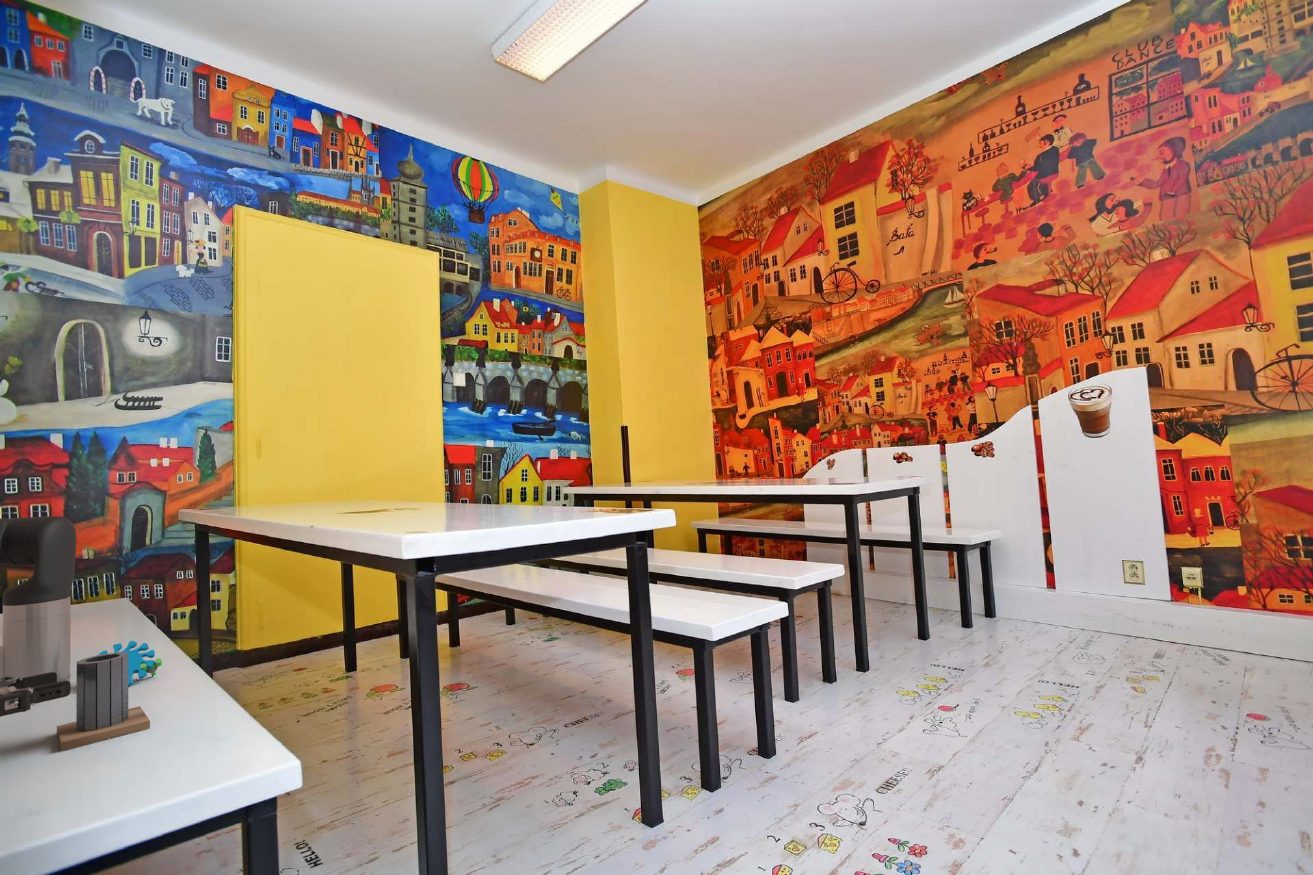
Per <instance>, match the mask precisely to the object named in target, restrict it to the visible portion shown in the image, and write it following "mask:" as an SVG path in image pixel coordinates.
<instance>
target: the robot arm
mask: <svg viewBox="0 0 1313 875" xmlns="http://www.w3.org/2000/svg"><path fill="white" fill-rule="evenodd" d="M77 545H78V544H77V531H76V528H75V525H74V523H73V521H72V520H70V519H69V518H68V517H66V516H64V515H63V516H61V515H55V516H54V515H50V516H47V515H45V516H35V517H34V516H31V517H30V516H29V517H13V518H3V517H2V518H0V565H3V566H10V567H25V566H34V568H33V572H32V575H31V576H30V577H29V578H28V579H27V580H25V581H23V582H21V583H19V584H16V585H13V586H10V587H8V588H6V589H5V590H4V592H3V593H2V645H0V717H5V716H9V715H14V714H18V713H25V712H27V711H29V710H31V708H32V707H34V706H35V705H36V704H41V703H44V702H49V701H53V700H57V699H63V698H65V697H68V696H70V695H71V590H72V587H73V583H74V580H75V574H76V573H75V572H76V569H75V568H76V558H77V557H76V556H77ZM16 701H17V702H16Z"/></svg>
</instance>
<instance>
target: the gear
mask: <svg viewBox="0 0 1313 875" xmlns="http://www.w3.org/2000/svg"><path fill="white" fill-rule="evenodd" d="M137 646H138V643H137V641H136V640H129V641H128V643H127V646H125V648H124V649H123V644H122V643H115V644H113V645H112V648H113V649H112V650H114V652H113V653H118V652H120V651H121V650H122V649H123V650H122V651H121V652H126V653H128V687H131V686H133V685H134V681H133V676H134V674H137V676H138V679H140V680H142V679H144V678H146V677H147V676H148V674H150V675H151V677H152V676H154V675H157V672H156V671H157V670H158V669H159V668H158V667H161V666H162V665H163V660H162V658H161V657H158V658H156V659H155V660H153V658H155V656H156V652H155V650H154V649H150V648H149V645H148V643H147V642H144V643H143V642H142V643H141V645H139V647H137ZM134 648H135V649H134ZM131 649H132V650H131ZM149 649H150V650H149ZM148 650H149V651H148ZM141 651H142V652H141ZM145 651H147V652H145ZM103 654H109V652H108V650H107V649H106V650H102V651H101V652H99V653H98V655H103ZM146 657H147V658H149V659H150V660H146V659H143V658H146Z"/></svg>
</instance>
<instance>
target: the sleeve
mask: <svg viewBox="0 0 1313 875" xmlns="http://www.w3.org/2000/svg"><path fill="white" fill-rule="evenodd" d="M75 686H76V689H75V690H76V691H75V692H76V693H75V694H76V695H75V696H76V697H75V698H76V699H75V700H76V702H75V703H76V705H75V706H76V710H75V711H76V714H75V718H76V721H75V722H76V731H82V732H84V731H93V730H99V729H103V728H107V727H110V726H114V725H117V724H120V723H122V722H124V721H126V720H127V719H128V709H129V686H128V653H126V652H122V651H118V653H114V652H111V653H110V652H108V654H103V655H99V654H98V655H92V656H89V657H85V658H82V659H79V660H78V661H76V685H75Z"/></svg>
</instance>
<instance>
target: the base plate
mask: <svg viewBox="0 0 1313 875" xmlns="http://www.w3.org/2000/svg"><path fill="white" fill-rule="evenodd" d="M150 729H151V720H150V719H149V717H148V715H147V714H146V713H145V711H144V710H143V708H142V707H141V706H136V707H131V708H128V719H127V720H126V721H124V722H122V723H120V724H117V725H114V726H110V727H107V728H103V729H99V730H93V731H84V732H82V731H76V721H72V722H67V723H64V724H60V725H56V735H57V736H56V737H57V739H58V743H59V747H60V751H61V752H64V751H68V750H72V749H75V747H76V748H80V747H83V745H84V746H87V745H91V744H93V743H92V742H95V743H98V742H97V741H99V742H101V741H100V740H103V741H106V739H107V740H109V739H108V738H111V739H114V738H117V736H118V737H121V736H125V735H129V734H133V733H137V732H141V731H144V730H150ZM90 743H91V744H90Z"/></svg>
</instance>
